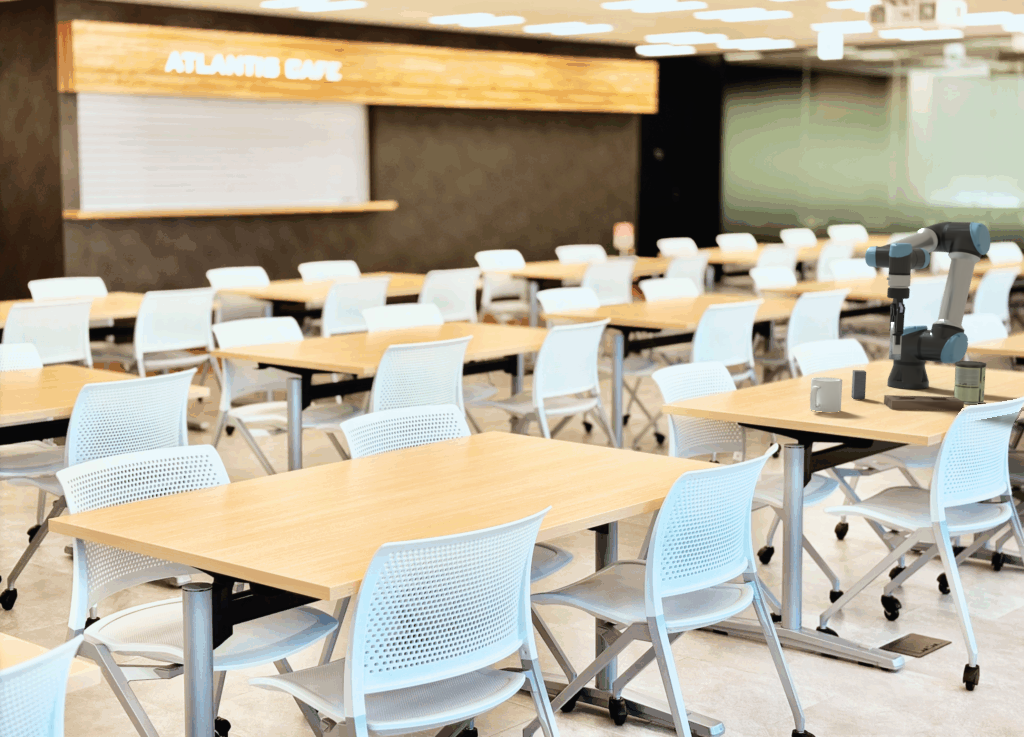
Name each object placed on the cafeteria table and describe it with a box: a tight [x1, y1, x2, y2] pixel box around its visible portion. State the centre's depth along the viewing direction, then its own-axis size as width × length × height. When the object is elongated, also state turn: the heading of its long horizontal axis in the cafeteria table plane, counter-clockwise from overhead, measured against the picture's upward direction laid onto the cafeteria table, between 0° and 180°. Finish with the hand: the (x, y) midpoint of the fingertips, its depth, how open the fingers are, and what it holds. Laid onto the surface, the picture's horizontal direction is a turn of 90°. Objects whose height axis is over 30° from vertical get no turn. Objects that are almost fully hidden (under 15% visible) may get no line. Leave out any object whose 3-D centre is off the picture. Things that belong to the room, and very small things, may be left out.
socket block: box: [883, 394, 965, 412], centre depth 454 cm, size 12×24×3 cm, turn 86°
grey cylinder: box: [888, 322, 902, 361], centre depth 467 cm, size 4×4×13 cm
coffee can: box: [953, 360, 987, 405], centre depth 466 cm, size 10×10×14 cm
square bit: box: [851, 369, 867, 400], centre depth 471 cm, size 4×4×10 cm
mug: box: [809, 376, 843, 412], centre depth 443 cm, size 14×10×11 cm
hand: (895, 353), depth 468 cm, fingers closed on grey cylinder, 4 cm apart
